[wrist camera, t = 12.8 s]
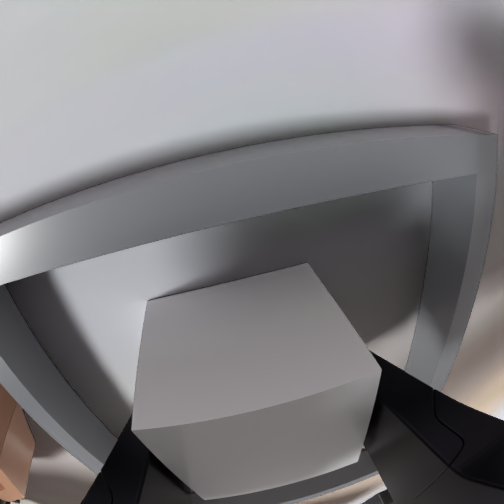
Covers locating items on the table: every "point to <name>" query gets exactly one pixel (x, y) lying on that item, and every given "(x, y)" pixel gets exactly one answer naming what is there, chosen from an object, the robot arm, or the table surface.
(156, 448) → the pale grey cubic block
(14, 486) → the bowl
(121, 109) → the table surface
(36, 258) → the parts tray
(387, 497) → the disk drive
